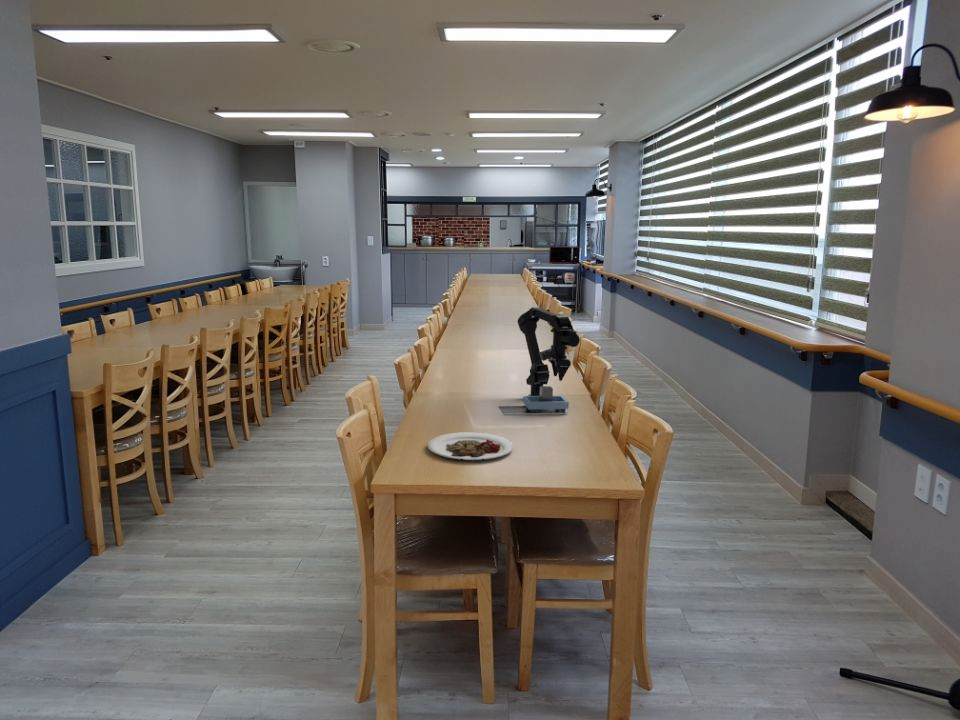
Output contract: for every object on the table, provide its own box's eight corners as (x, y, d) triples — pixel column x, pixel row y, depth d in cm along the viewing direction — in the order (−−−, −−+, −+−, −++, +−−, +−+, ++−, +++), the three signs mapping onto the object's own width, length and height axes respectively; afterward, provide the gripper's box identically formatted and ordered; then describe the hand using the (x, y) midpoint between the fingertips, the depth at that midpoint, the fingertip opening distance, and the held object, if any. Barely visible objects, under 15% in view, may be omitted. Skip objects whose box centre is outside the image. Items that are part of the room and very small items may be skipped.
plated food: (415, 441, 250) (416, 432, 249) (491, 433, 262) (491, 425, 261) (445, 468, 223) (445, 458, 222) (528, 458, 235) (528, 448, 234)
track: (498, 408, 297) (498, 405, 297) (559, 408, 301) (559, 404, 300) (503, 417, 284) (503, 413, 284) (567, 416, 288) (567, 412, 288)
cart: (523, 406, 297) (523, 396, 296) (561, 406, 300) (562, 395, 299) (528, 413, 286) (528, 402, 286) (568, 413, 289) (568, 402, 288)
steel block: (539, 402, 294) (539, 386, 293) (549, 402, 295) (550, 386, 294) (541, 404, 290) (542, 388, 289) (552, 404, 291) (552, 388, 289)
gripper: (536, 340, 309) (535, 374, 312) (546, 347, 291) (544, 383, 293) (560, 340, 310) (559, 374, 313) (572, 347, 292) (570, 383, 295)
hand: (557, 378), depth 304 cm, fingers open, 9 cm apart
